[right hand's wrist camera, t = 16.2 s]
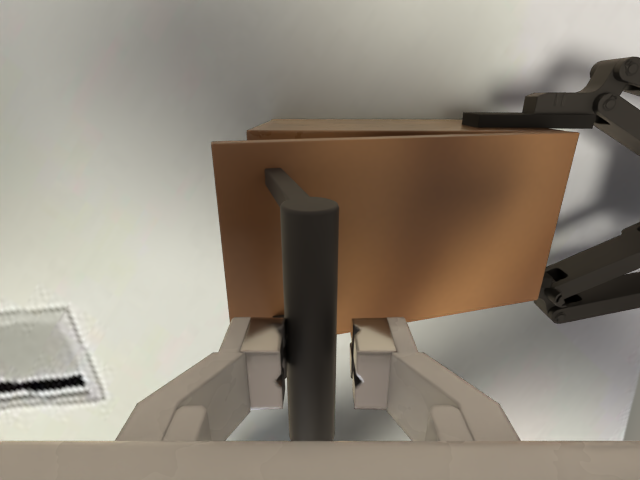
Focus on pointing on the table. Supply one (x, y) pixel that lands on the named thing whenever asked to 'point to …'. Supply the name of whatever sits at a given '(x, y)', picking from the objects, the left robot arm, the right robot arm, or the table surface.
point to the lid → (381, 236)
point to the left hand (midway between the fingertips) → (458, 202)
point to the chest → (368, 128)
